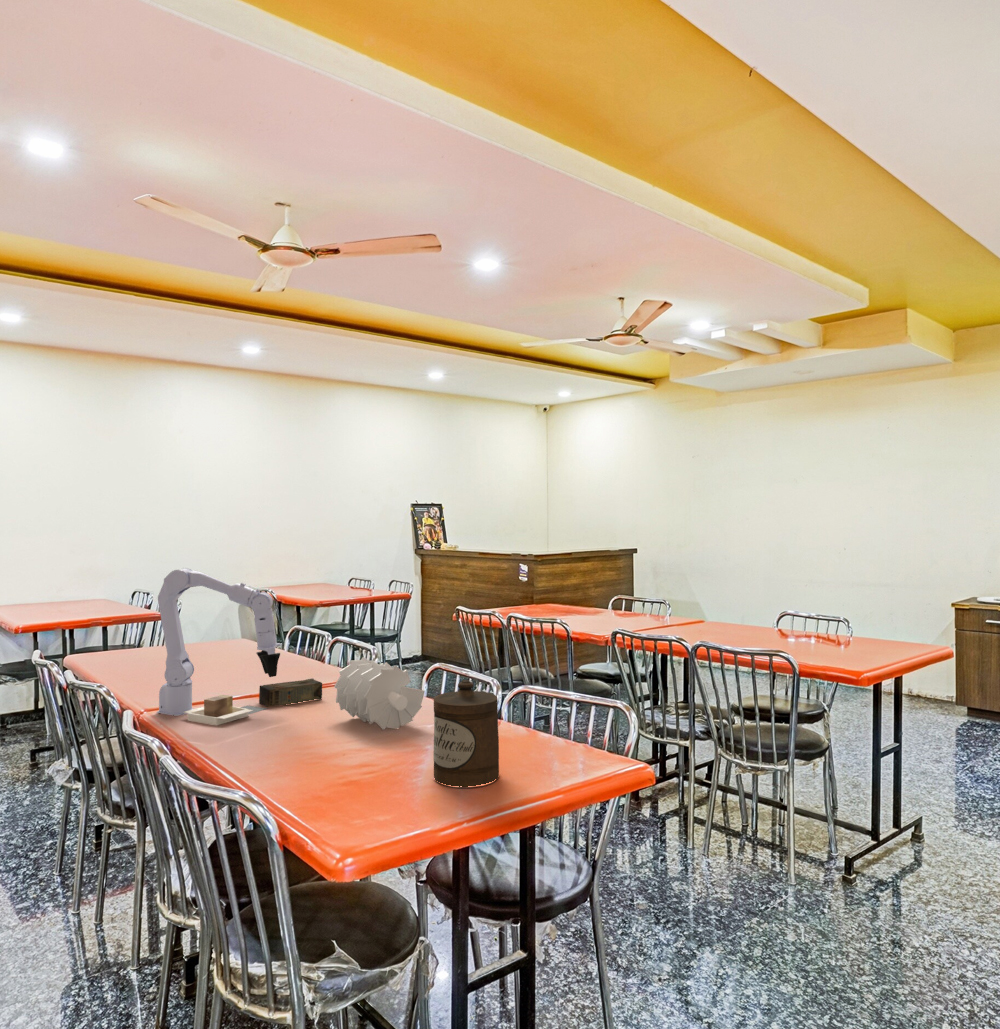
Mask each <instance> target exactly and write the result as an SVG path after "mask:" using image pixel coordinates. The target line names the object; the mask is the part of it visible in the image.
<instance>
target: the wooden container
mask: <svg viewBox="0 0 1000 1029" xmlns="http://www.w3.org/2000/svg"><path fill="white" fill-rule="evenodd" d="M457 687H458V688H459V689H458V691H451V692H444V693H440V694H437V695H435V696H434V697H433V713H434V714H433V717H434V718H433V724H434V725H433V752H432V753H433V779H434V778H435V780H436V781H438V782H440V783H443V784H446V785H451V786H459V787H460V786H462V787H468V786H476V785H481V784H486V783H489V782H492V781H494V780H495V779H497V778H498V776H499V775H500V764H499V763H500V753H499V752H500V748H499V747H500V742H499V740H500V738H499V715H498V714H499V713H498V709H499V707H498V696H497V695H496V694H494V693H491V692H487V691H480V690H473V689H474V682H472V681H470V680H469V679H462V680H461V681H459V683H458V684H457ZM499 777H500V776H499ZM498 779H499V778H498ZM498 779H497V780H498ZM435 780H434V781H435ZM436 781H435V782H436Z"/></svg>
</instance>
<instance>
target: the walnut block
mask: <svg viewBox="0 0 1000 1029" xmlns="http://www.w3.org/2000/svg"><path fill="white" fill-rule="evenodd" d="M233 697H234V696H233V695H227V694H221V695H217V696H212V697H208V698H204V699H203V707H204V715H205V716H211V717H220V716H223V715H227V714H231V713H233V707H234V706H233V704H234V703H233V700H234V698H233Z"/></svg>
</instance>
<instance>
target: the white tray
mask: <svg viewBox="0 0 1000 1029" xmlns="http://www.w3.org/2000/svg"><path fill="white" fill-rule="evenodd" d="M252 711H253V710H249V709H246V708H240V706H239V707H238V706H233V713H231V714H227V715H223V716H220V717H211V716H205V715H204V706H201V707H197V708H192V710H189V711H185V712H183V713H187V719H186V720H187V721H189V722H193V723H200V724H205V725H212V726H219V725H223V724H226V723H227V724H228V723H229V722H230V723H231V722H232V721H237V720H239V719H240V720H241V719H243V718H248V717H249V716H250V714H249V712H252Z"/></svg>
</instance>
